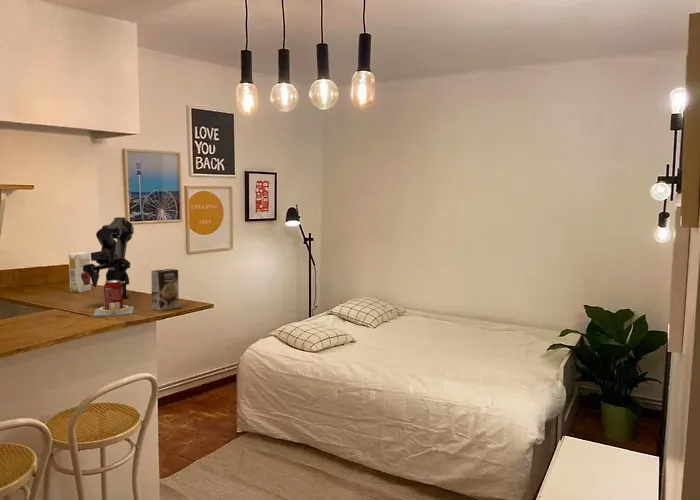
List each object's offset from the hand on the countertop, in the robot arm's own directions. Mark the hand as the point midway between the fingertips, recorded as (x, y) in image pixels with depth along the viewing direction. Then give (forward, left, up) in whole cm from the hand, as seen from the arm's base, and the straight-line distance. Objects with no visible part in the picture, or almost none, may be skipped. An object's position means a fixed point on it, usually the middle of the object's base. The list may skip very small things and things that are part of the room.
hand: (104, 284), depth 219 cm
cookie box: (-19, +16, -10) cm, 27 cm away
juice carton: (-6, -50, -10) cm, 51 cm away
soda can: (0, +11, -9) cm, 14 cm away
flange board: (0, +11, -10) cm, 15 cm away
